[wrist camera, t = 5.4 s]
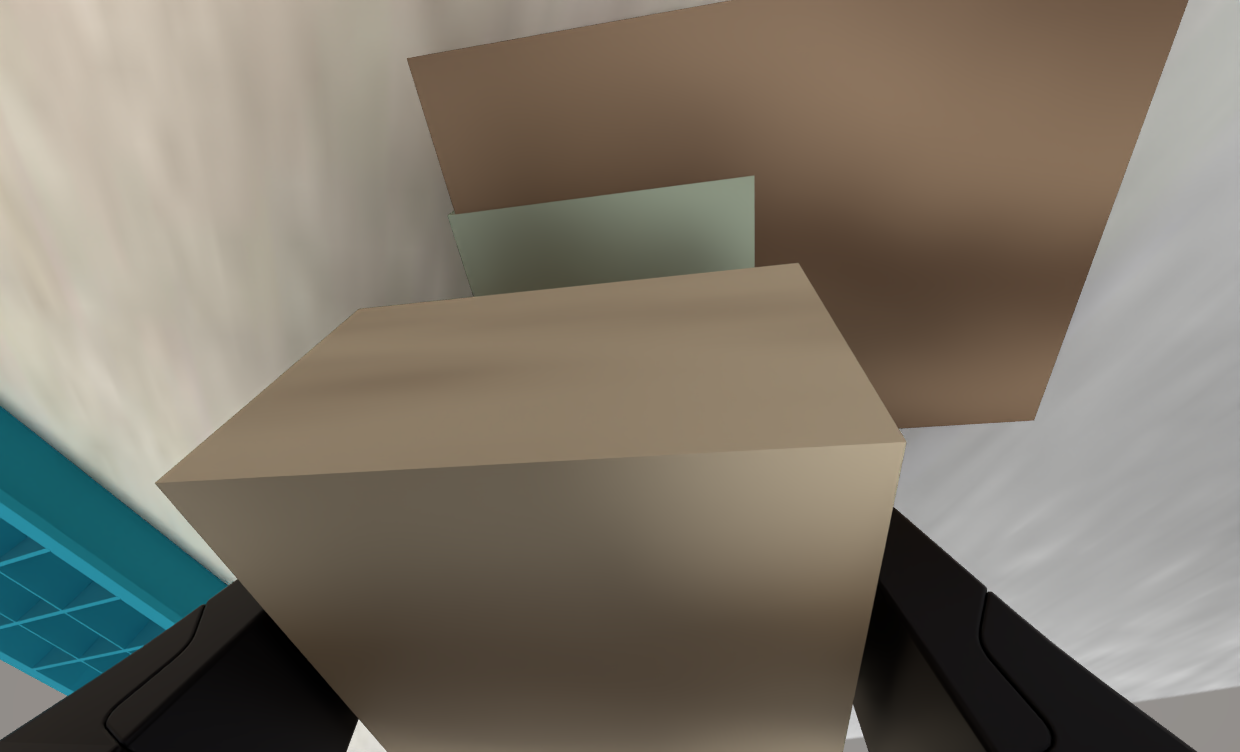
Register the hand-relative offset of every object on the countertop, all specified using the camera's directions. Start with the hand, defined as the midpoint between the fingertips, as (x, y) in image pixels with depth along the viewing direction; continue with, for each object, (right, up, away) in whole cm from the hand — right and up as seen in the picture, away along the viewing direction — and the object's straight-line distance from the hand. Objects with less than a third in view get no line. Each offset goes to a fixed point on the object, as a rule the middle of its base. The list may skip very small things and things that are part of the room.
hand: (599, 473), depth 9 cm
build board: (+4, +5, +4) cm, 8 cm away
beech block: (0, 0, 0) cm, 0 cm away
